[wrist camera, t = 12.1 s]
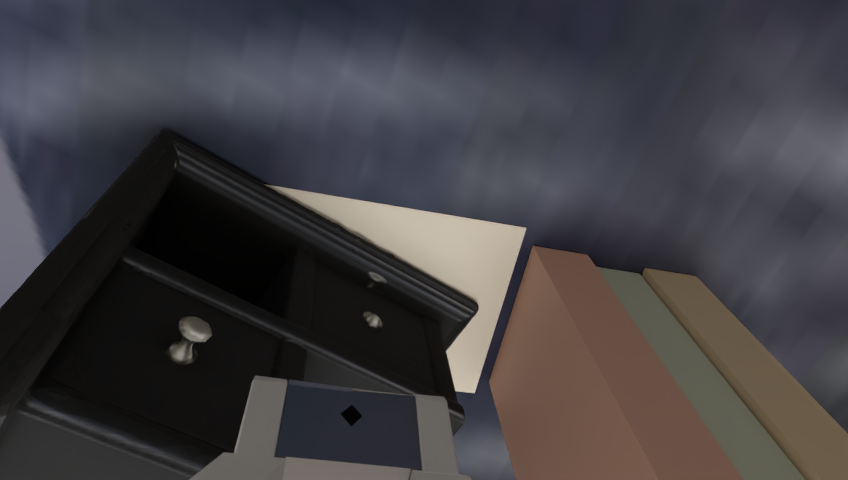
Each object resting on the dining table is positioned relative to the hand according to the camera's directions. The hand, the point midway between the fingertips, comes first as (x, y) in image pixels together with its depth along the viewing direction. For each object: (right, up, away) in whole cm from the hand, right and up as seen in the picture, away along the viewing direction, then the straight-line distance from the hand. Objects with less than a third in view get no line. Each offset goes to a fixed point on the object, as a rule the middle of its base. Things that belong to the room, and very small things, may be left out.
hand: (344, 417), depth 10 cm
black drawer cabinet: (-7, 0, +33) cm, 33 cm away
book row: (+13, -4, +36) cm, 39 cm away
